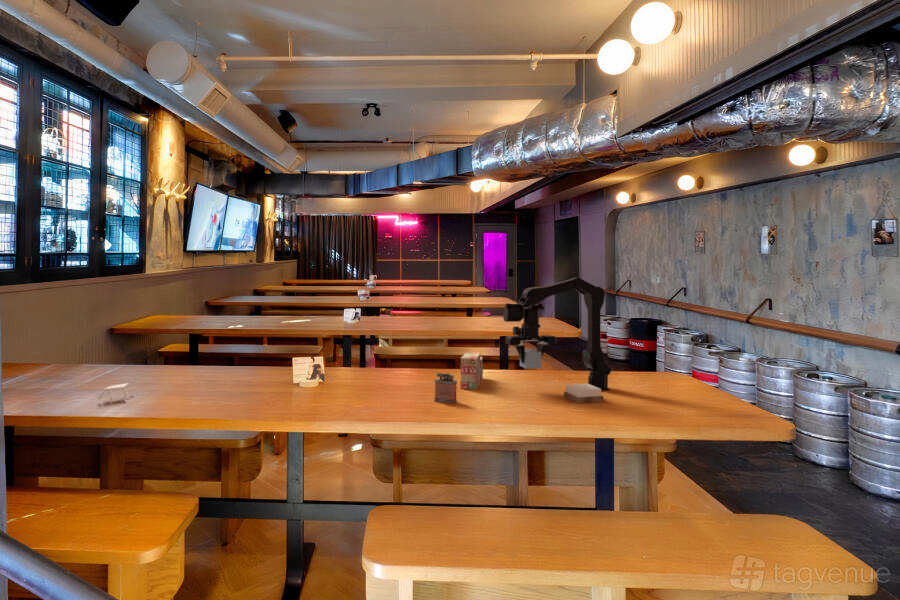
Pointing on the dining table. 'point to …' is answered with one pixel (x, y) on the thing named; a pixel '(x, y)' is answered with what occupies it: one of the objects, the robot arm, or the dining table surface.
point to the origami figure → (120, 386)
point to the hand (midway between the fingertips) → (530, 362)
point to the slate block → (531, 359)
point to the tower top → (583, 390)
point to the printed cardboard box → (471, 371)
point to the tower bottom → (583, 398)
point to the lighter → (445, 388)
